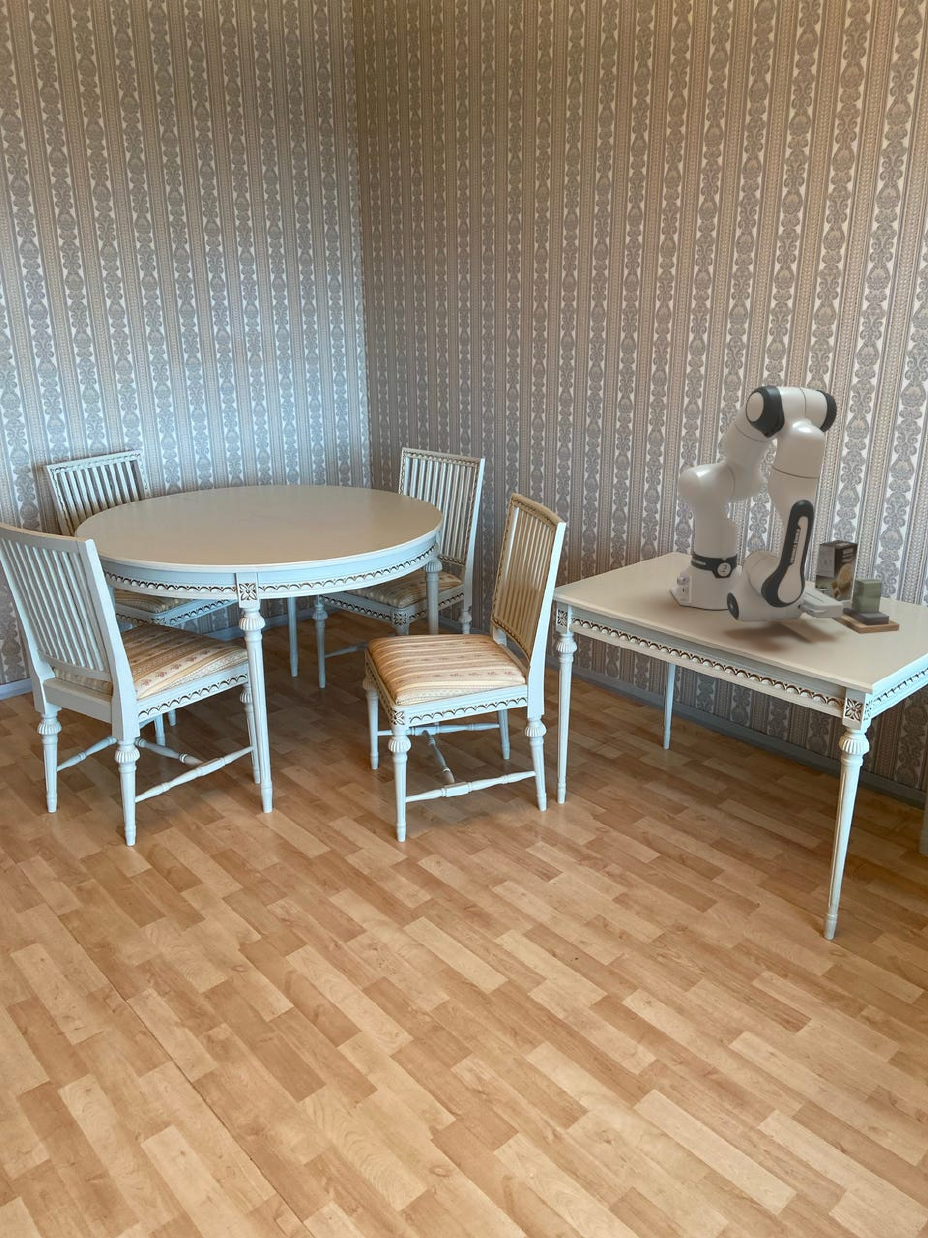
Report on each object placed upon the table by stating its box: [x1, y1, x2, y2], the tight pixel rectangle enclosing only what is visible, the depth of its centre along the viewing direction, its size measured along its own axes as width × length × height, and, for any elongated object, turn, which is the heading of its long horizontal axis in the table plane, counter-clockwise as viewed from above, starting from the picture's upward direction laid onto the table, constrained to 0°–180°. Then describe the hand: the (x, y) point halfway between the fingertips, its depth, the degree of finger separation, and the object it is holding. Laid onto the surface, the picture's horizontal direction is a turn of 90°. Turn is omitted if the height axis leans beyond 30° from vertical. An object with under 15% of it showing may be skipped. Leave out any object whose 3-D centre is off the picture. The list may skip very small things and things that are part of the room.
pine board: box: [832, 600, 901, 634], centre depth 258 cm, size 21×11×2 cm, turn 12°
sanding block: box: [842, 577, 890, 626], centre depth 253 cm, size 12×6×10 cm, turn 12°
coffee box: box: [814, 539, 859, 601], centre depth 272 cm, size 9×6×16 cm
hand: (838, 597), depth 251 cm, fingers open, 8 cm apart
